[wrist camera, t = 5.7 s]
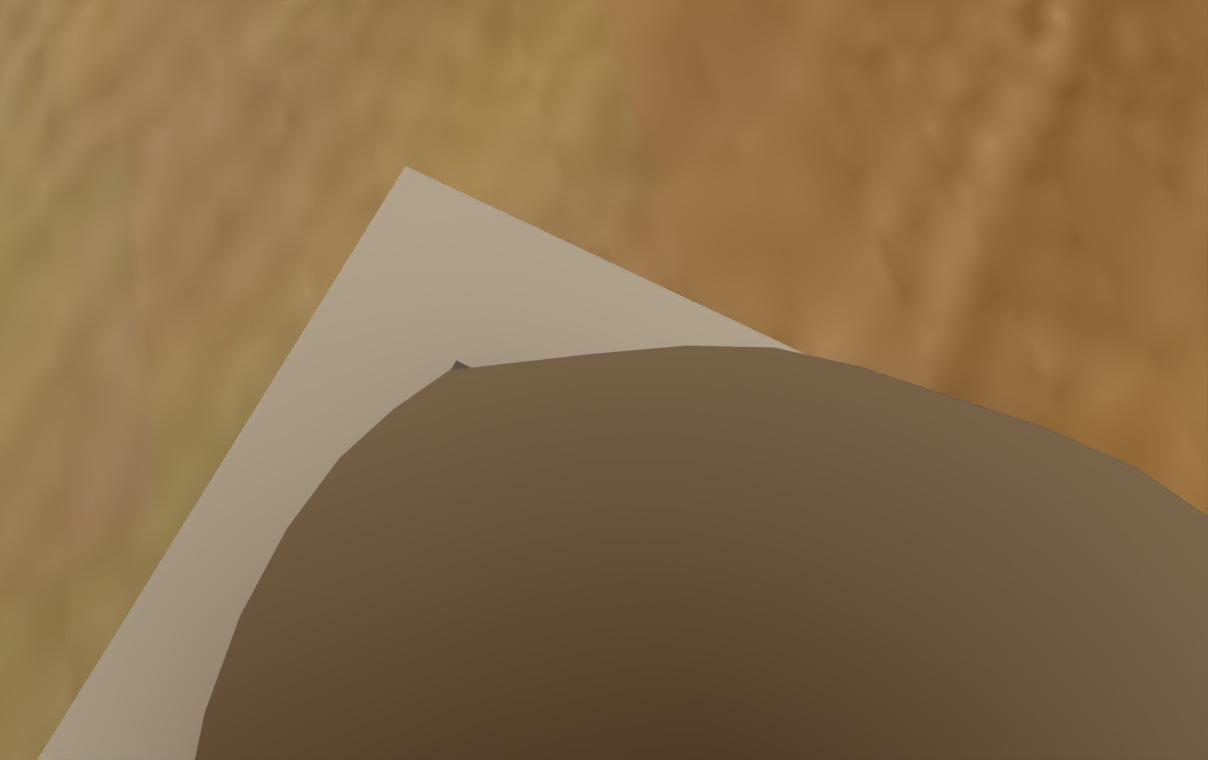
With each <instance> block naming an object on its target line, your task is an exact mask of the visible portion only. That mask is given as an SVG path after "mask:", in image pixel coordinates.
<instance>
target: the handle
mask: <svg viewBox="0 0 1208 760" xmlns="http://www.w3.org/2000/svg"><path fill="white" fill-rule="evenodd" d="M195 760H1208V516H1207V515H1206V514H1204V513H1203V512H1201V511H1200V510H1198V509H1197V508H1195V507H1194V506H1192V505H1191V504H1189V503H1188V502H1186V501H1185V500H1183V499H1182V498H1180V497H1179V496H1178V495H1176V494H1175V493H1173V492H1172V491H1170V490H1169V489H1167V488H1166V487H1164V486H1163V485H1161V484H1160V483H1158V482H1157V481H1155V480H1154V479H1152V478H1151V477H1149V476H1148V475H1146V474H1145V473H1143V472H1142V471H1141V470H1139V469H1138V468H1136V467H1135V466H1132V465H1130V464H1128V463H1125V462H1123V461H1121V460H1118V459H1116V458H1114V457H1112V456H1109V455H1107V454H1105V453H1102V452H1100V451H1098V450H1095V449H1093V448H1091V447H1089V446H1086V445H1084V444H1082V443H1079V442H1077V441H1075V440H1072V439H1070V438H1068V437H1066V436H1063V435H1061V434H1059V433H1056V432H1054V431H1052V430H1049V429H1047V428H1045V427H1042V426H1039V425H1036V424H1033V423H1030V422H1027V421H1024V420H1021V419H1018V418H1015V417H1012V416H1009V415H1006V414H1003V413H1000V412H997V411H993V410H990V409H987V408H984V407H981V406H978V405H975V404H972V403H969V402H966V401H963V400H960V399H957V398H954V397H951V396H948V395H945V394H942V393H939V392H936V391H933V390H930V389H927V388H924V387H921V386H917V385H914V384H911V383H908V382H905V381H902V380H899V379H896V378H893V377H890V376H887V375H884V374H881V373H878V372H875V371H872V370H869V369H866V368H863V367H859V366H854V365H850V364H845V363H841V362H836V361H832V360H828V359H823V358H819V357H814V356H810V355H805V354H801V353H797V352H792V351H788V350H783V349H779V348H774V347H732V346H675V347H664V348H653V349H641V350H630V351H619V352H608V353H597V354H585V355H576V356H568V357H559V358H551V359H542V360H534V361H525V362H516V363H508V364H499V365H491V366H482V367H474V368H465V369H456V370H449V371H447V372H446V373H445V374H443V375H442V376H440V377H439V378H437V379H436V380H434V381H433V382H432V383H430V384H429V385H427V386H426V387H424V388H423V389H422V390H420V391H419V392H417V393H416V394H414V395H413V396H412V397H410V398H409V399H407V400H406V401H404V402H403V403H402V404H400V405H399V406H397V407H396V408H394V409H393V410H392V411H391V412H390V413H389V414H388V415H386V416H385V417H384V418H383V419H382V420H381V421H380V422H379V423H378V424H376V425H375V426H374V427H373V428H372V429H371V430H370V431H369V432H368V433H367V434H365V435H364V436H363V437H362V438H361V439H360V440H359V441H358V442H357V443H355V444H354V445H353V446H352V447H351V448H350V449H349V450H348V451H347V452H345V453H344V454H343V455H342V456H341V457H340V458H339V459H338V460H337V462H336V463H335V465H334V466H333V467H332V469H331V470H330V471H329V473H328V474H327V475H326V477H325V478H324V479H323V481H322V482H321V483H320V485H319V486H318V487H317V489H316V490H315V491H314V493H313V494H312V495H311V497H310V498H309V499H308V501H307V502H306V504H305V505H304V506H303V508H302V509H301V510H300V512H299V513H298V514H297V516H296V517H295V518H294V520H293V521H292V522H291V524H290V525H289V526H288V528H287V529H286V531H285V533H284V535H283V537H282V538H281V540H280V542H279V544H278V546H277V548H276V550H275V552H274V553H273V555H272V557H271V559H270V561H269V563H268V565H267V566H266V568H265V570H264V572H263V574H262V576H261V578H260V580H259V581H258V583H257V585H256V587H255V589H254V591H253V593H252V594H251V596H250V598H249V600H248V602H247V604H246V606H245V608H244V609H243V611H242V613H241V615H240V617H239V620H238V623H237V626H236V628H235V631H234V634H233V636H232V639H231V642H230V645H229V647H228V650H227V653H226V656H225V658H224V661H223V664H222V667H221V669H220V672H219V675H218V677H217V680H216V683H215V686H214V688H213V691H212V694H211V697H210V699H209V702H208V705H207V708H206V710H205V714H204V718H203V723H202V728H201V733H200V737H199V742H198V747H197V752H196V756H195Z"/></svg>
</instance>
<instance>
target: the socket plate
mask: <svg viewBox="0 0 1208 760" xmlns="http://www.w3.org/2000/svg"><path fill="white" fill-rule="evenodd" d="M675 346H732V347H774V348H779V349H783V350H788V351H792V352H797V353H801V354H804V353H802V352H799V351H797V350H795V349H793V348H791V347H789V346H787V345H785V344H782V343H780V342H778V341H776V340H774V339H772V338H770V337H768V336H765V335H763V334H761V333H759V332H757V331H755V330H753V329H751V328H748V327H746V326H744V325H742V324H740V323H738V322H736V321H734V320H731V319H729V318H727V317H725V316H723V315H721V314H719V313H717V312H714V311H712V310H710V309H708V308H706V307H704V306H702V305H700V304H697V303H695V302H693V301H691V300H689V299H687V298H685V297H683V296H680V295H678V294H676V293H674V292H672V291H670V290H668V289H666V288H663V287H661V286H659V285H657V284H655V283H653V282H651V281H649V280H646V279H644V278H642V277H640V276H638V275H636V274H634V273H632V272H629V271H627V270H625V269H623V268H621V267H619V266H617V265H615V264H612V263H610V262H608V261H606V260H604V259H602V258H600V257H598V256H595V255H593V254H591V253H589V252H587V251H585V250H583V249H581V248H578V247H576V246H574V245H572V244H570V243H568V242H566V241H564V240H561V239H559V238H557V237H555V236H553V235H551V234H549V233H547V232H544V231H542V230H540V229H538V228H536V227H534V226H532V225H530V224H527V223H525V222H523V221H521V220H519V219H517V218H515V217H513V216H510V215H508V214H506V213H504V212H502V211H500V210H498V209H496V208H494V207H491V206H489V205H487V204H485V203H483V202H481V201H479V200H477V199H474V198H472V197H470V196H468V195H466V194H464V193H462V192H460V191H457V190H455V189H453V188H451V187H449V186H447V185H445V184H443V183H440V182H438V181H436V180H434V179H432V178H430V177H428V176H426V175H423V174H421V173H419V172H417V171H415V170H413V169H411V168H409V167H406V166H405V168H404V170H403V171H402V173H401V174H400V176H399V178H398V179H397V181H396V182H395V184H394V186H393V187H392V189H391V191H390V192H389V194H388V195H387V197H386V199H385V200H384V202H383V203H382V205H381V207H380V208H379V210H378V211H377V213H376V215H375V216H374V218H373V220H372V221H371V223H370V224H369V226H368V228H367V229H366V231H365V232H364V234H363V236H362V237H361V239H360V241H359V242H358V244H357V245H356V247H355V249H354V250H353V252H352V253H351V255H350V257H349V258H348V260H347V261H346V263H345V265H344V266H343V268H342V270H341V271H340V273H339V274H338V276H337V278H336V279H335V281H334V282H333V284H332V286H331V287H330V289H329V290H328V292H327V294H326V295H325V297H324V299H323V300H322V302H321V303H320V305H319V307H318V308H317V310H316V311H315V313H314V315H313V316H312V318H311V319H310V321H309V323H308V324H307V326H306V328H305V329H304V331H303V332H302V334H301V336H300V337H299V339H298V340H297V342H296V344H295V345H294V347H293V348H292V350H291V352H290V353H289V355H288V357H287V358H286V360H285V361H284V363H283V365H282V366H281V368H280V369H279V371H278V373H277V374H276V376H275V378H274V379H273V381H272V382H271V384H270V386H269V387H268V389H267V390H266V392H265V394H264V395H263V397H262V398H261V400H260V402H259V403H258V405H257V407H256V408H255V410H254V411H253V413H252V415H251V416H250V418H249V419H248V421H247V423H246V424H245V426H244V427H243V429H242V431H241V432H240V434H239V436H238V437H237V439H236V440H235V442H234V444H233V445H232V447H231V448H230V450H229V452H228V453H227V455H226V456H225V458H224V460H223V461H222V463H221V465H220V466H219V468H218V469H217V471H216V473H215V474H214V476H213V477H212V479H211V481H210V482H209V484H208V485H207V487H206V489H205V490H204V492H203V494H202V495H201V497H200V498H199V500H198V502H197V503H196V505H195V506H194V508H193V510H192V511H191V513H190V515H189V516H188V518H187V519H186V521H185V523H184V524H183V526H182V527H181V529H180V531H179V532H178V534H177V535H176V537H175V539H174V540H173V542H172V544H171V545H170V547H169V548H168V550H167V552H166V553H165V555H164V556H163V558H162V560H161V561H160V563H159V564H158V566H157V568H156V569H155V571H154V573H153V574H152V576H151V577H150V579H149V581H148V582H147V584H146V585H145V587H144V589H143V590H142V592H141V593H140V595H139V597H138V598H137V600H136V602H135V603H134V605H133V606H132V608H131V610H130V611H129V613H128V614H127V616H126V618H125V619H124V621H123V622H122V624H121V626H120V627H119V629H118V631H117V632H116V634H115V635H114V637H113V639H112V640H111V642H110V643H109V645H108V647H107V648H106V650H105V652H104V653H103V655H102V656H101V658H100V660H99V661H98V663H97V664H96V666H95V668H94V669H93V671H92V672H91V674H90V676H89V677H88V679H87V681H86V682H85V684H84V685H83V687H82V689H81V690H80V692H79V693H78V695H77V697H76V698H75V700H74V701H73V703H72V705H71V706H70V708H69V710H68V711H67V713H66V714H65V716H64V718H63V719H62V721H61V722H60V724H59V726H58V727H57V729H56V730H55V732H54V734H53V735H52V737H51V739H50V740H49V742H48V743H47V745H46V747H45V748H44V750H43V751H42V753H41V755H40V756H39V758H38V759H37V760H195V756H196V752H197V747H198V742H199V737H200V733H201V728H202V723H203V718H204V714H205V710H206V708H207V705H208V702H209V699H210V697H211V694H212V691H213V688H214V686H215V683H216V680H217V677H218V675H219V672H220V669H221V667H222V664H223V661H224V658H225V656H226V653H227V650H228V647H229V645H230V642H231V639H232V636H233V634H234V631H235V628H236V626H237V623H238V620H239V617H240V615H241V613H242V611H243V609H244V608H245V606H246V604H247V602H248V600H249V598H250V596H251V594H252V593H253V591H254V589H255V587H256V585H257V583H258V581H259V580H260V578H261V576H262V574H263V572H264V570H265V568H266V566H267V565H268V563H269V561H270V559H271V557H272V555H273V553H274V552H275V550H276V548H277V546H278V544H279V542H280V540H281V538H282V537H283V535H284V533H285V531H286V529H287V528H288V526H289V525H290V524H291V522H292V521H293V520H294V518H295V517H296V516H297V514H298V513H299V512H300V510H301V509H302V508H303V506H304V505H305V504H306V502H307V501H308V499H309V498H310V497H311V495H312V494H313V493H314V491H315V490H316V489H317V487H318V486H319V485H320V483H321V482H322V481H323V479H324V478H325V477H326V475H327V474H328V473H329V471H330V470H331V469H332V467H333V466H334V465H335V463H336V462H337V460H338V459H339V458H340V457H341V456H342V455H343V454H344V453H345V452H347V451H348V450H349V449H350V448H351V447H352V446H353V445H354V444H355V443H357V442H358V441H359V440H360V439H361V438H362V437H363V436H364V435H365V434H367V433H368V432H369V431H370V430H371V429H372V428H373V427H374V426H375V425H376V424H378V423H379V422H380V421H381V420H382V419H383V418H384V417H385V416H386V415H388V414H389V413H390V412H391V411H392V410H393V409H394V408H396V407H397V406H399V405H400V404H402V403H403V402H404V401H406V400H407V399H409V398H410V397H412V396H413V395H414V394H416V393H417V392H419V391H420V390H422V389H423V388H424V387H426V386H427V385H429V384H430V383H432V382H433V381H434V380H436V379H437V378H439V377H440V376H442V375H443V374H445V373H446V372H447V371H449V370H456V369H465V368H474V367H482V366H491V365H499V364H508V363H516V362H525V361H534V360H542V359H551V358H559V357H568V356H576V355H585V354H597V353H608V352H619V351H630V350H641V349H653V348H664V347H675ZM805 355H806V354H805Z"/></svg>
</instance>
